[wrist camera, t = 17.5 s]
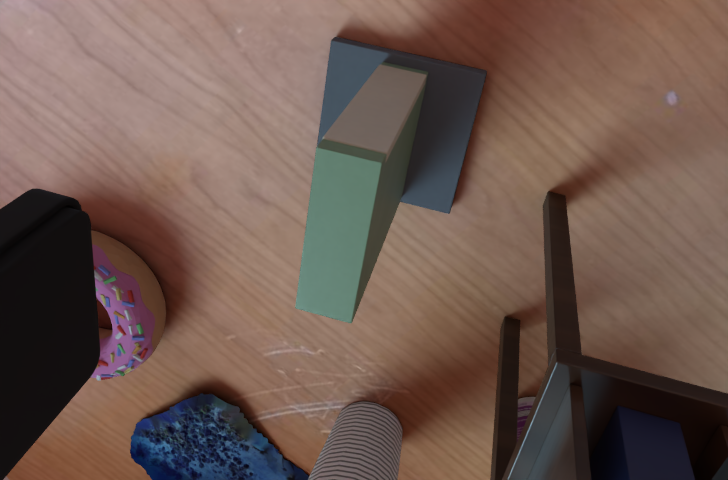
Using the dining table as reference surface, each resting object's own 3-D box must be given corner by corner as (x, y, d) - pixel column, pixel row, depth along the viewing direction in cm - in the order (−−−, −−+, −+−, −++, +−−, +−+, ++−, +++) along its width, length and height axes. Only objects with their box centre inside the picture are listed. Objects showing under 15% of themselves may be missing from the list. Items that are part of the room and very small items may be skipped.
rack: (547, 191, 44) (561, 465, 24) (856, 265, 42) (1161, 637, 22) (500, 328, 50) (479, 639, 30) (767, 399, 48) (939, 786, 28)
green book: (382, 59, 41) (316, 144, 29) (429, 70, 41) (383, 160, 28) (360, 187, 46) (294, 308, 33) (401, 197, 46) (351, 324, 33)
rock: (210, 376, 60) (201, 391, 58) (332, 492, 64) (327, 509, 62) (120, 431, 67) (110, 445, 65) (236, 532, 71) (229, 548, 70)
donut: (201, 341, 58) (174, 379, 54) (77, 362, 63) (44, 398, 59) (124, 199, 52) (88, 228, 48) (-6, 234, 57) (-49, 263, 53)
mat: (335, 36, 42) (331, 39, 42) (487, 70, 41) (486, 74, 40) (316, 174, 48) (312, 180, 47) (451, 208, 46) (449, 214, 46)
